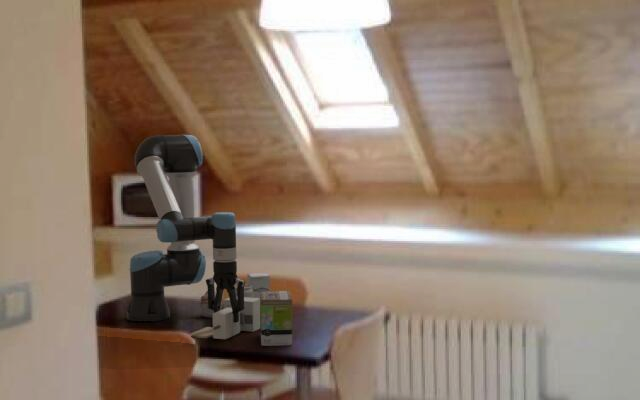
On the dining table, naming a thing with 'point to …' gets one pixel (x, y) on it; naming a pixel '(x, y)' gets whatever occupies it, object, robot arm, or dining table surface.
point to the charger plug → (224, 324)
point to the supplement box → (259, 283)
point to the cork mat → (203, 333)
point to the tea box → (276, 318)
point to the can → (246, 291)
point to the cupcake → (204, 306)
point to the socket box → (248, 313)
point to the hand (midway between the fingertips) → (226, 331)
